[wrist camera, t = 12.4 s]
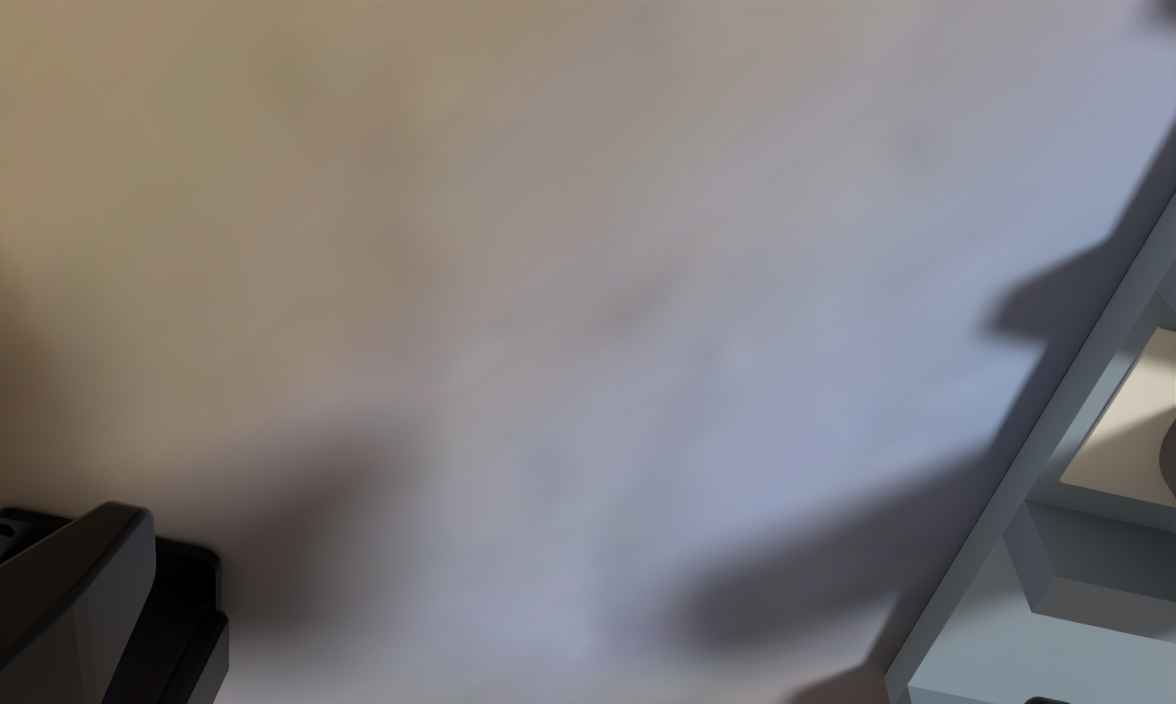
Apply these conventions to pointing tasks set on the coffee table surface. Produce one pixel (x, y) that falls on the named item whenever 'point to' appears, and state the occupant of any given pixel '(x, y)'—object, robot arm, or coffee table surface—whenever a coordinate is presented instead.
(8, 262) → the coffee table surface
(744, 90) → the coffee table surface
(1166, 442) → the grey cylinder
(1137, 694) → the grey divided tray
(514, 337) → the coffee table surface
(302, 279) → the coffee table surface
